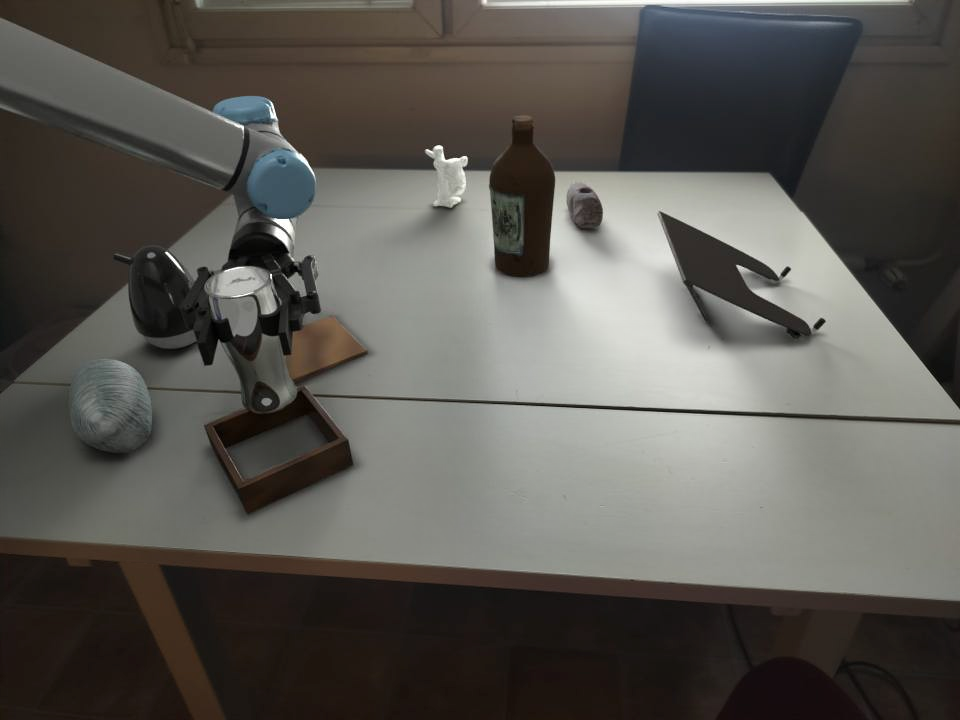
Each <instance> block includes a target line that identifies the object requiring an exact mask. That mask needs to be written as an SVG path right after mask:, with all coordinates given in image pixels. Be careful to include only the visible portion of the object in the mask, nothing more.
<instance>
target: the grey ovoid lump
mask: <svg viewBox="0 0 960 720" xmlns="http://www.w3.org/2000/svg"><path fill="white" fill-rule="evenodd" d="M68 391H69V392H68V414H69V418H70V419H69V420H70V422H71V426H72V428H73V430H74V432H75V434H76V436H77V438H79V439H80V440H81V441H82V442H83V443H85V444H86V445H88V446H90V447H92V448H95V449H97V450H100V451H103V452H109V453H126V452H132V451H134V450H135V449H136V450H137V448H139V447H141V446H142V445H143V444H144V443H145V442H146V440H147V439H148V438H149V436H150V434H151V432H152V423H153V409H152V401H151V397H150V393H149V389H148V386H147V384H146V382H145V380H144V379H143V377H142V375H141V374H140V373H139V372H138V370H137V369H135V368H134V367H133V366H131V365H129V364H127V363H125V362H122V361H120V360H118V359H117V360H116V359H109V358H99V359H93V360H90V361H88V362H86V363H85V364H84V365H82V366H81V367H80V368H78V370H76V372H75V373H74V375H73V376H72V379H71V383H70V387H69V390H68Z"/></svg>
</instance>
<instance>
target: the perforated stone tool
mask: <svg viewBox="0 0 960 720" xmlns="http://www.w3.org/2000/svg"><path fill="white" fill-rule="evenodd" d="M565 200H566V201H565V203H566V206H567V210H568V212H569V214H570V216H571V218H572V220H573V222H574V223H575V224H576V225H577V226H578V227H579V228H580V229H581V228H582V229H584V230H585V229H596V228H598V227H600V225H601V224H602V222H603V218H604V209H603V205H602V202H601V199H600V198H599V195H598V194H597V193H596V192H595V190H594V189H593V188H592V187H591V186H589V185H587V184H586V183H584V182H582V181H573V182H572V183H571V184H570V185H569V187H568V188H567V191H566V199H565Z"/></svg>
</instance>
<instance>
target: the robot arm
mask: <svg viewBox="0 0 960 720" xmlns="http://www.w3.org/2000/svg"><path fill="white" fill-rule="evenodd" d="M0 109H2V110H4V111H8V112H11V113H13V114H15V115H19V116H21V117H24V118H27V119H29V120H32V121H35V122H37V123H40V124H43V125H46V126H48V127H50V128H54V129H56V130H58V131H61V132H65V133H66V134H69V135H72V136H75V137H77V138H81V139H83V140H86V141H89V142H91V143H94V144H97V145H99V146H102V147H105V148H107V149H110V150H113V151H116V152H117V153H120V154H124V155H126V156H129V157H132V158H133V159H137V160H140V161H142V162H145V163H148V164H150V165H153V166H156V167H159V168H161V169H164V170H167V171H168V172H172V173H174V174H177V175H180V176H182V177H186V178H189V179H191V180H193V181H196V182H199V183H202V184H204V185H207V186H209V187H212V188H215V189H218V190H221V191H224V192H225V193H227V194H229V195H233V198H234V203H235V207H236V210H237V215H238V218H237V221H236V226H235V228H234V232H233V235H232V240H231V243H230V247H229V251H228V256H227V261H226V262H225V263H224V264H223V265H222V266H221V269H217V270H213V269H209V268H208V266H201V267H198V268H197V269H196V273H197V277H196V279H195V282H194V284H193V286H192V288H191V289H190V291H189V293H188V295H187V296H186V298H185V300H184V301H183V303H182V305H181V307H180V310H181V313H182V316H183V319H184V321H185V324H186V327H187V328H188V329H193V331H194V334H195V337H196V345H197V348H198V350H199V354H200V356H201V359H202V362H203V365H204V367H207V366H213V365H214V364H213V363H214V360H215V356H216V352H217V348H218V343H219V339H218V336H217V334H216V331H215V328H214V325H213V322H212V318H211V315H210V310H209V306H208V301H207V296H206V292H205V289H204V286H205V283H206V281H207V280H208V279H209V278H210V277H212V276H213V275H215V274H217V273H219V272H221V271H224V270H226V269H230V268H234V267H240V266H258V267H262V268H265V269H267V270H268V271H269V272H270V273H271V275H272V279H273V282H274V285H275V288H276V291H277V294H278V297H279V301H280V304H281V311H280V320H279V329H278V335H279V339H280V343H281V347H282V351H283V355H284V356H285V355H291V351H292V338H293V331H301V330H302V328H303V326H304V317H305V316H306V314H308V313H310V314H312V315H319V314H320V313H321V312H322V307H321V302H320V297H319V292H318V289H317V283H316V280H317V279H318V277H319V271H318V265H317V260H316V256H315V255H312V254H310V255H306V256H305V257H304V258H303V259H302V260H299V261H296V260H295V259H294V253H295V252H294V251H295V243H296V231H297V224H298V219H299V216H301V215H303V214H304V213H305V212H307V211H308V209H309V208H310V207H311V206H312V205H313V203H314V201H315V199H316V194H317V188H318V187H317V186H318V185H317V178H316V176H315V173H314V171H313V170H312V168H311V166H310V164H309V162H308V160H307V158H305V157H304V156H303V155H302V153H300V152H299V151H297V150H296V149H295V148H294V146H293V145H291V144H290V143H289V142H288V141H287V139H286V138H285V137H284V136H283V135H282V134H281V131H280V128H279V119H278V118H277V115H276V114H277V113H276V111H275V107H274V103H273V102H272V101H271V100H270V99H269V98H267V97H264V96H260V95H245V96H236V97H231V98H226V99H223V100H221V101H219V102H217V103H216V104H215V105H214V106H213V110H212V111H211V110H210V109H207V108H205V107H203V106H201V105H198V104H197V103H194V102H191V101H189V100H186V99H185V98H182V97H180V96H178V95H175V94H173V93H172V92H169V91H167V90H164V89H162V88H160V87H157V86H156V85H153V84H150V83H149V82H146V81H145V80H142V79H139V78H138V77H136V76H133V75H130V74H128V73H127V72H124V71H122V70H119V69H117V68H115V67H113V66H110V65H108V64H106V63H104V62H102V61H99V60H97V59H95V58H92V57H90V56H89V55H88V56H87V55H85V54H83V53H81V52H79V51H77V50H74V49H72V48H70V47H68V46H65V45H63V44H60V43H58V42H56V41H54V40H52V39H49V38H47V37H46V36H43V35H40V34H39V33H36V32H34V31H31V30H29V29H27V28H25V27H22V26H21V25H18V24H16V23H14V22H11V21H9V20H6V19H5V18H2V17H0ZM296 273H297V275H298V276H299V277H301V281H303V283H304V289H305V294H306V295H303V296H301V293H300V289H296V288H295V287H294V286H293V284H292V283H291V282H290V280H289V279H290V278H292V277H293V276H295V274H296Z"/></svg>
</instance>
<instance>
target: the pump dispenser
mask: <svg viewBox="0 0 960 720" xmlns="http://www.w3.org/2000/svg"><path fill="white" fill-rule="evenodd" d="M112 259H113V260H115V261H117V262H119V263H122V264H124V265H127V266H129V270H128V280H127V281H128V282H127V288H128V289H127V291H128V292H127V293H128V303H129V308H130V314H131V317H132V321H133V324H134V327H135V330H136V331H137V332H138V334H140V335H142V337H143V338H144V339H145V340H146V341H147V342H148V343H149V344H150V345H152V346H155V347H157V348H160V349H165V350H177V349H181V348H185V347H187V346H189V345H190V346H191V345H192V344H193V343H196V342H197V340H196V337H195V334H194V331H193V329H188V328H187V327H186V324H185V321H184V319H183V316H182V313H181V310H180V307H181V305H182V303H183V301H184V300H185V298H186V296H187V295H188V293H189V291H190V289H191V288H192V286H193V284H194V282H195V281H196V279H194V276H192V274H191V272H190V271H189V270H188V269H187V268H186V266H185V265H184V264H183V262H182V261H180V259H179V258H178V257H177V256H176V255H175V254H174V253H173V252H171V251H170V250H169V249H167V248H166V247H164V246H161V245H155V244H149V245H145V246H142V247H141V248H138V250H136V252H134V255H129V254H125V253H121V252H117V251H115V252H114V253H113V254H112Z"/></svg>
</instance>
